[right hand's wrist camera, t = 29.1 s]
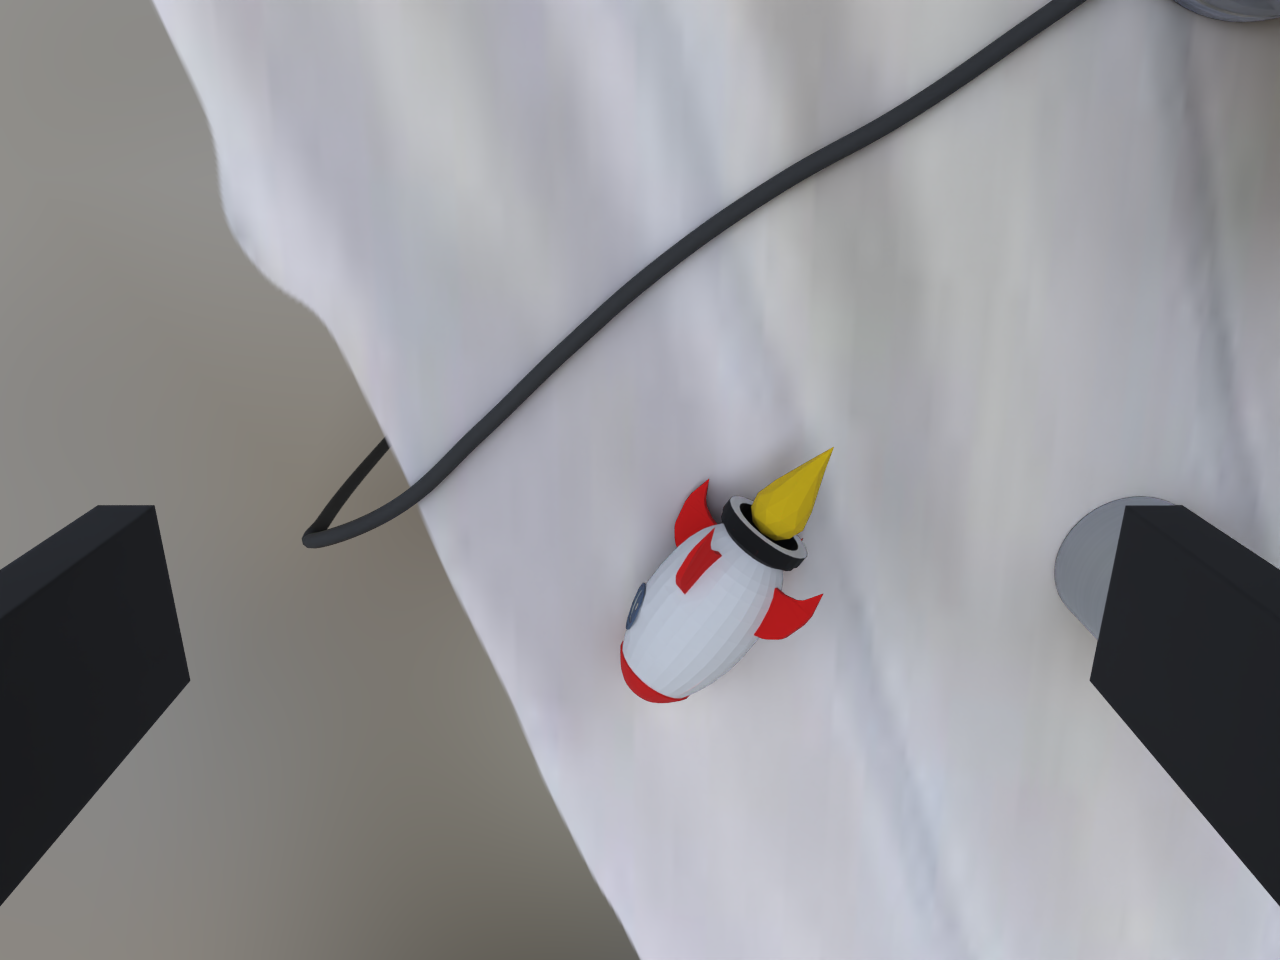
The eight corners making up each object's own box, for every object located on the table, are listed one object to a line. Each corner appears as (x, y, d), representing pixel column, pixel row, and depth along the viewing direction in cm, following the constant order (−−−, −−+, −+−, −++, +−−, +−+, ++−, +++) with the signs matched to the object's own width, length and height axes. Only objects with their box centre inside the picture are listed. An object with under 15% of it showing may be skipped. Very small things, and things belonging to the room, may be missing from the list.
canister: (1230, 540, 57) (1382, 641, 45) (1131, 648, 59) (1250, 769, 48) (1121, 470, 55) (1249, 556, 43) (1024, 584, 58) (1121, 693, 46)
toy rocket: (754, 409, 46) (552, 681, 52) (905, 520, 45) (682, 780, 52) (772, 385, 54) (596, 620, 61) (898, 477, 54) (707, 704, 61)
